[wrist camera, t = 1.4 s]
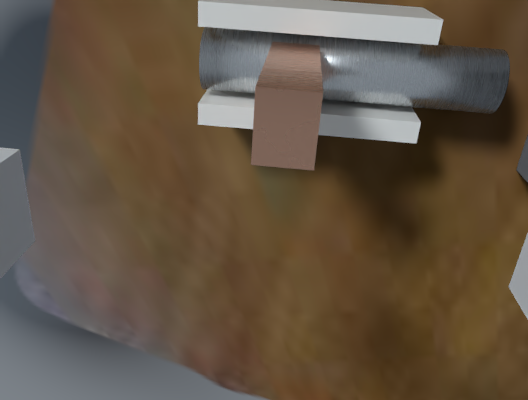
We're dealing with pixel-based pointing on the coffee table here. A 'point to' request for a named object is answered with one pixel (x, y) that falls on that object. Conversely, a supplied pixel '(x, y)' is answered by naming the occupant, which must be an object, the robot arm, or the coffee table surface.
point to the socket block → (524, 162)
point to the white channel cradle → (331, 25)
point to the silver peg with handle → (340, 82)
